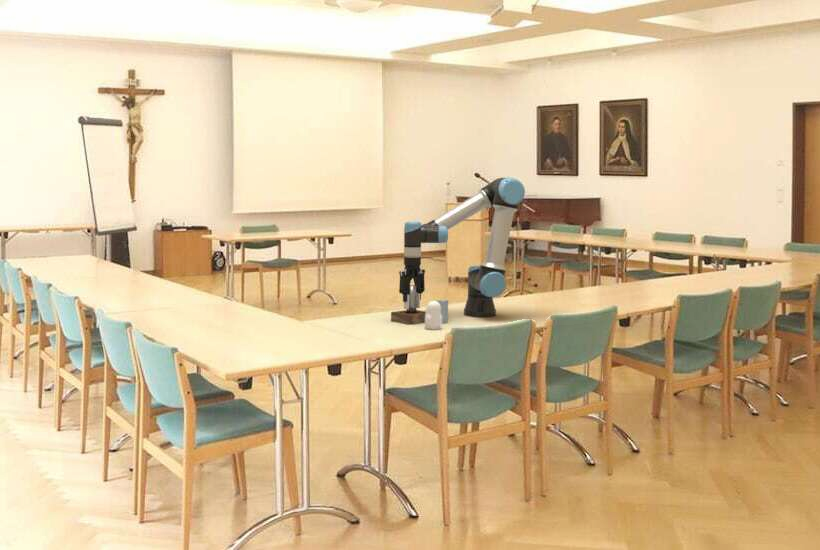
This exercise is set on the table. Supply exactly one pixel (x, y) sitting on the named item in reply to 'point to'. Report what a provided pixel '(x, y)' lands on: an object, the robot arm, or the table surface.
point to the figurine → (433, 316)
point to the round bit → (412, 299)
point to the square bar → (444, 310)
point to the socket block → (408, 317)
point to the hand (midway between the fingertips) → (411, 308)
